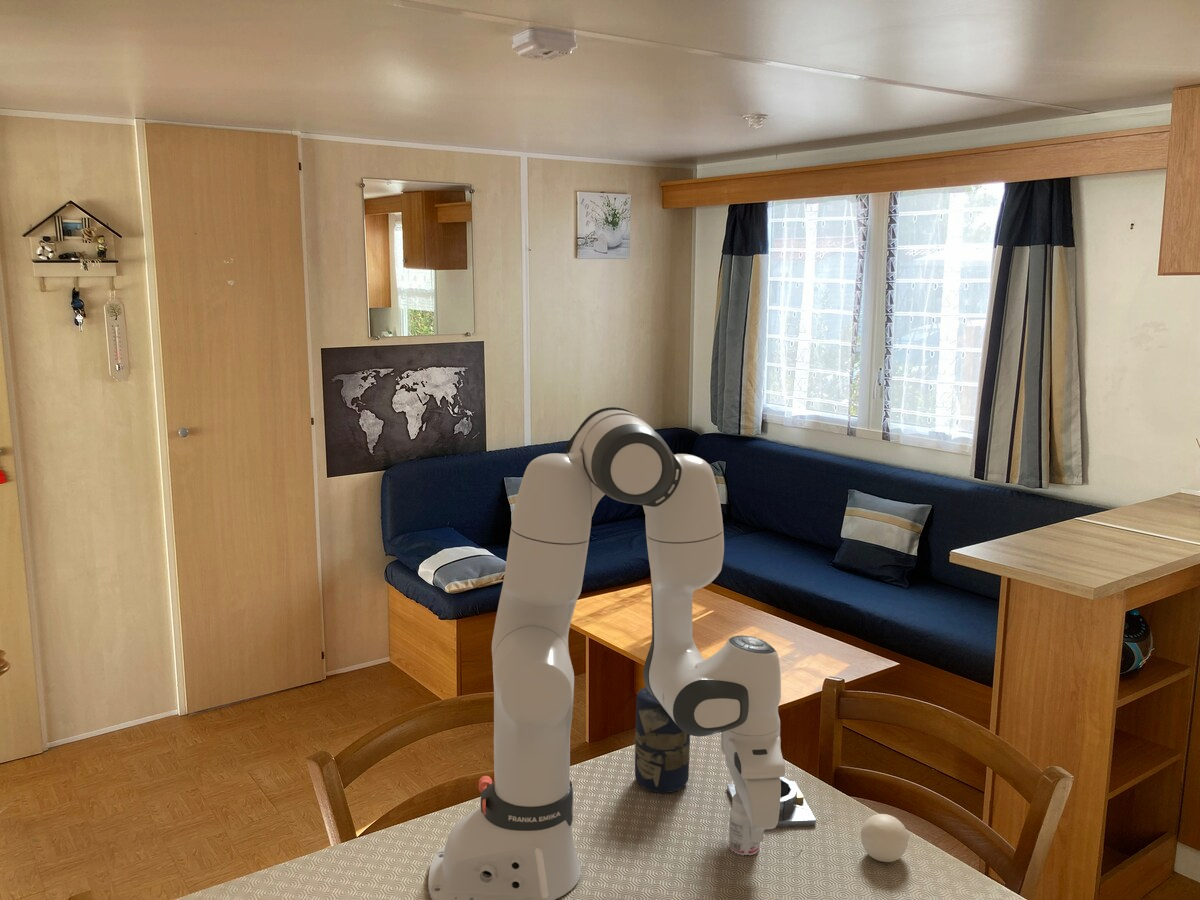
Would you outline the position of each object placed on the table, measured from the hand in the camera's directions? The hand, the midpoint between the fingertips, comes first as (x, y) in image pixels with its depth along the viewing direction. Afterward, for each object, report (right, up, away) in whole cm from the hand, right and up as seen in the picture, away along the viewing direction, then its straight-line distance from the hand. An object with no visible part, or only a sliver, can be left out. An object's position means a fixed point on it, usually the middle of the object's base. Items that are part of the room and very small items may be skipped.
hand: (748, 821), depth 150 cm
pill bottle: (-1, -5, +1) cm, 5 cm away
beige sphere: (+21, -5, -1) cm, 21 cm away
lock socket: (+5, -2, +12) cm, 14 cm away
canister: (-12, -1, +20) cm, 23 cm away
